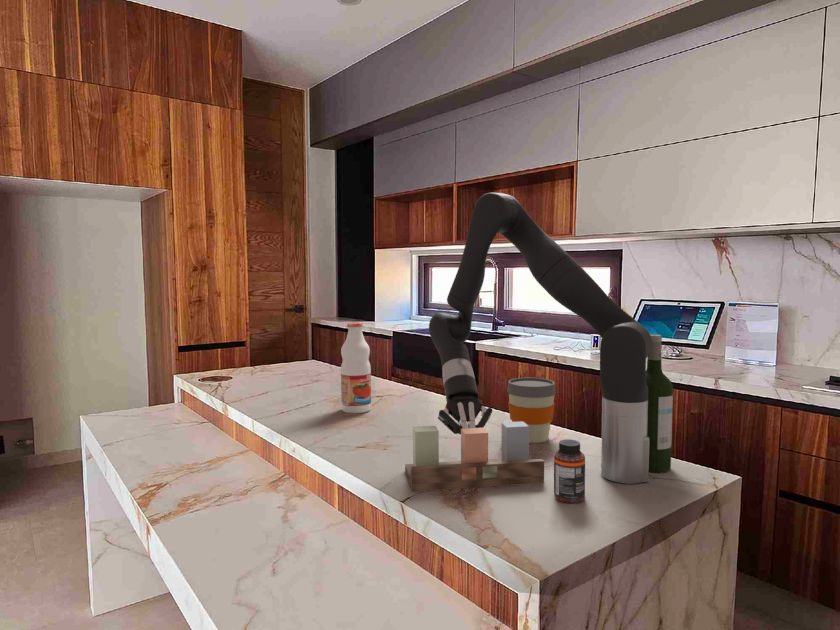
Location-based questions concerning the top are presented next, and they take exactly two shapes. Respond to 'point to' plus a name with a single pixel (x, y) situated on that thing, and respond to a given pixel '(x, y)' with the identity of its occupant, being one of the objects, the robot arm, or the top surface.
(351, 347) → the fruit juice
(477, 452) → the terracotta key
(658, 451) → the wine bottle
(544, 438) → the reusable coffee cup
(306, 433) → the top surface
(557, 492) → the supplement bottle
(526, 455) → the slate key
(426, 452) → the sage key
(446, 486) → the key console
